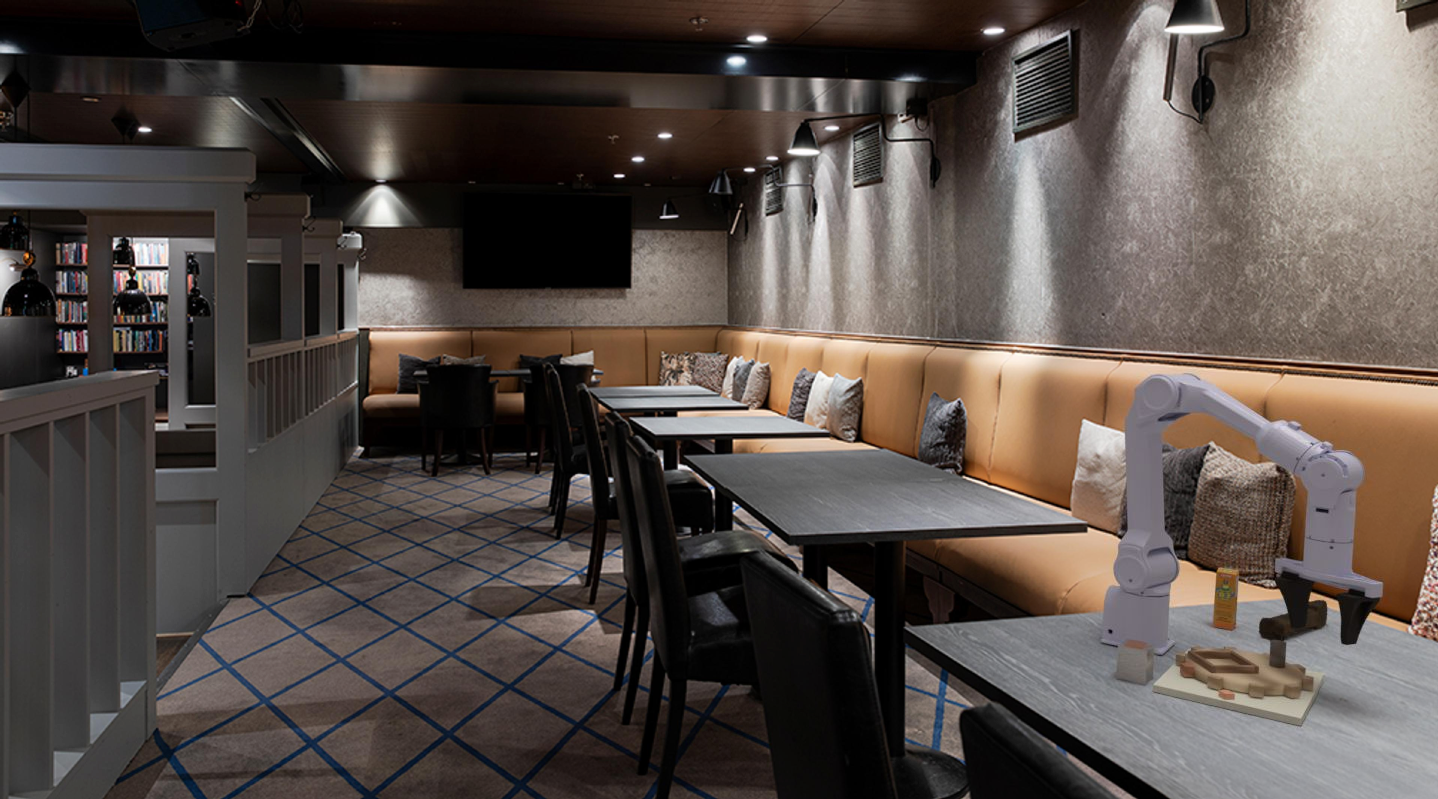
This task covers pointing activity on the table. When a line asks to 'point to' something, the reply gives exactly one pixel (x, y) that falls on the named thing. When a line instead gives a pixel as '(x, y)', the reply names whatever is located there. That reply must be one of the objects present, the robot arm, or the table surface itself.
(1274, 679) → the sprocket disc
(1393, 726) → the table surface
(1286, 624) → the dark brown log
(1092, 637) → the table surface
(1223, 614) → the supplement box
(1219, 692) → the index plate
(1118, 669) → the copper-capped metal cube
